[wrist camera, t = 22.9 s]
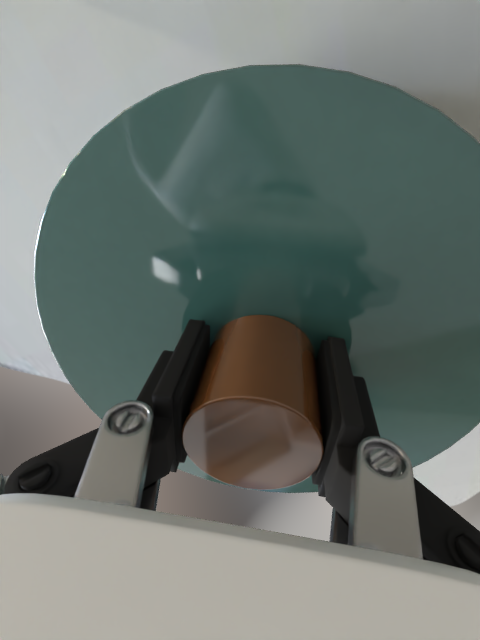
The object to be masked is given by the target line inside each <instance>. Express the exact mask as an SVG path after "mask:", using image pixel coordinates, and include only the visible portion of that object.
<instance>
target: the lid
mask: <svg viewBox="0 0 480 640" xmlns="http://www.w3.org/2000/svg"><path fill="white" fill-rule="evenodd" d="M34 285H35V294H36V304H37V308H38V312H39V316H40V320H41V324H42V328H43V331H44V334H45V336H46V339H47V341H48V344H49V346H50V349H51V352H52V354H53V355H54V357H55V359H56V361H57V363H58V365H59V367H60V368H61V370H62V372H63V374H64V375H65V377H66V378H67V379H68V381H69V382H70V384H71V385H72V387H73V388H74V390H75V391H76V392H77V394H78V395H79V396H80V397H81V398H82V399H83V400H84V402H85V403H86V404H87V405H88V406H89V408H90V409H91V410H92V411H93V412H94V413H95V414H97V416H98V417H99V418H101V419H103V417H104V415H105V413H106V412H107V411H108V410H109V409H110V408H111V407H113V406H115V405H116V404H118V403H121V402H124V401H129V400H136V399H137V398H138V396H139V394H140V392H141V390H142V388H143V386H144V385H145V383H146V381H147V379H148V377H149V375H150V374H151V372H152V370H153V368H154V366H155V364H156V363H157V361H158V359H159V357H160V355H161V353H162V352H163V351H164V350H168V351H174V350H175V348H176V346H177V344H178V342H179V340H180V338H181V336H182V334H183V332H184V330H185V328H186V326H187V324H188V321H189V320H190V319H194V320H202V321H205V325H210V349H209V352H208V355H207V358H206V360H205V363H204V366H203V369H202V372H201V375H200V378H199V380H198V383H197V386H196V389H195V392H194V395H193V397H192V400H191V403H190V406H189V409H188V412H187V415H186V417H185V420H184V423H183V427H182V436H181V438H182V444H183V447H184V450H185V451H186V453H187V457H186V460H185V462H184V463H180V462H179V465H178V468H177V469H179V470H181V471H184V472H187V473H190V474H192V475H195V476H198V477H200V478H203V479H207V480H210V481H214V482H217V483H221V484H225V485H230V486H234V487H239V488H244V489H252V490H259V491H267V492H285V493H302V492H303V493H304V492H318V485H315V484H313V483H312V474H313V473H314V472H315V471H316V470H317V469H318V467H319V466H320V464H321V461H322V459H323V454H324V440H323V429H322V419H321V408H320V398H319V388H318V377H317V367H316V361H317V357H318V353H319V349H320V344H321V341H322V340H327V338H328V337H336V338H343V339H344V340H345V343H346V347H347V352H348V356H349V360H350V365H351V369H352V373H353V376H359V377H363V378H364V380H365V382H366V386H367V390H368V393H369V397H370V401H371V404H372V408H373V412H374V415H375V419H376V423H377V427H378V430H379V434H380V437H383V438H386V439H388V440H391V441H393V442H394V443H396V444H397V445H399V446H400V447H401V448H402V449H403V450H404V451H405V452H406V454H407V455H408V457H409V459H410V461H411V464H412V468H413V467H415V466H417V465H419V464H422V463H424V462H426V461H428V460H429V459H431V458H433V457H434V456H436V455H438V454H439V453H441V452H443V451H444V450H446V449H448V448H449V447H451V446H452V445H453V444H455V443H456V442H457V441H459V440H460V439H461V438H463V437H464V436H465V435H467V434H468V433H469V432H470V431H471V430H473V429H474V428H475V427H476V426H477V425H478V424H479V423H480V143H479V142H478V141H477V140H476V139H475V138H474V137H473V136H472V135H471V134H469V133H468V132H467V131H465V130H464V129H463V128H462V127H460V126H459V125H458V124H456V123H455V122H454V121H453V120H451V119H450V118H449V117H447V116H446V115H445V114H444V113H442V112H441V111H440V110H439V109H437V108H435V107H433V106H431V105H429V104H427V103H425V102H424V101H422V100H420V99H418V98H416V97H414V96H412V95H410V94H408V93H406V92H405V91H403V90H401V89H399V88H397V87H395V86H392V85H389V84H386V83H382V82H379V81H376V80H373V79H370V78H367V77H364V76H361V75H358V74H355V73H352V72H348V71H342V70H335V69H328V68H321V67H314V66H308V65H301V64H288V65H249V66H243V67H238V68H233V69H227V70H222V71H216V72H211V73H206V74H202V75H199V76H196V77H194V78H191V79H188V80H185V81H183V82H180V83H177V84H174V85H172V86H169V87H166V88H163V89H161V90H159V91H157V92H155V93H154V94H152V95H150V96H148V97H147V98H145V99H143V100H141V101H140V102H138V103H136V104H134V105H133V106H131V107H129V108H127V109H126V110H124V111H123V112H121V113H120V114H119V115H118V116H117V117H115V118H114V119H113V120H112V121H110V122H109V123H108V124H107V125H106V126H104V127H103V128H102V129H101V130H100V131H98V132H97V133H96V134H95V135H94V136H93V137H92V138H91V139H90V140H89V141H88V142H87V144H86V145H85V146H84V147H83V148H82V149H81V151H80V152H79V153H78V154H77V155H76V156H75V158H74V159H73V160H72V161H71V162H70V164H69V165H68V167H67V169H66V170H65V172H64V174H63V175H62V177H61V179H60V180H59V182H58V184H57V185H56V187H55V189H54V190H53V192H52V195H51V197H50V200H49V202H48V205H47V207H46V210H45V213H44V215H43V218H42V220H41V224H40V229H39V234H38V239H37V243H36V248H35V263H34Z"/></svg>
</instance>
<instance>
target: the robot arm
mask: <svg viewBox="0 0 480 640" xmlns="http://www.w3.org/2000/svg"><path fill="white" fill-rule="evenodd" d="M209 349H210V325H205V321H202V320H194V319H190V320H189V321H188V324H187V326H186V328H185V330H184V332H183V334H182V336H181V338H180V340H179V342H178V344H177V346H176V348H175V350H174V351H168V350H164V351H163V352H162V353H161V355H160V357H159V359H158V361H157V363H156V364H155V366H154V368H153V370H152V372H151V374H150V375H149V377H148V379H147V381H146V383H145V385H144V386H143V388H142V390H141V392H140V394H139V396H138V398H137V399H136V400H129V401H124V402H121V403H118V404H116V405H115V406H113V407H111V408H110V409H109V410H108V411H107V412H106V413H105V415H104V417H103V419H102V422H101V424H100V427H99V428H97V429H95V430H93V431H91V432H89V433H86V434H84V435H82V436H80V437H77V438H75V439H73V440H71V441H69V442H67V443H64V444H62V445H60V446H58V447H55V448H53V449H51V450H49V451H47V452H44V453H42V454H40V455H38V456H35V457H33V458H31V459H29V460H28V461H26V462H24V463H23V464H21V465H20V466H19V467H18V468H16V469H15V470H14V471H13V473H12V474H11V475H9V476H6V477H3V475H2V474H0V640H480V531H479V530H477V529H476V528H475V527H474V526H472V525H471V524H470V523H469V522H467V521H466V520H465V519H464V518H462V517H461V516H460V515H459V514H458V513H456V512H455V511H454V510H453V509H451V508H450V507H449V506H448V505H447V504H446V503H444V502H443V501H442V500H441V499H439V498H438V497H437V496H436V495H435V494H433V493H432V492H431V491H430V490H428V489H427V488H426V487H425V486H423V485H422V484H421V483H420V482H419V481H417V480H416V479H415V478H414V477H413V469H412V464H411V461H410V459H409V457H408V455H407V454H406V452H405V451H404V450H403V449H402V448H401V447H400V446H399V445H397V444H396V443H394V442H393V441H391V440H388V439H386V438H383V437H380V434H379V430H378V427H377V423H376V419H375V415H374V412H373V408H372V404H371V401H370V397H369V393H368V390H367V386H366V382H365V380H364V378H363V377H359V376H353V373H352V369H351V365H350V360H349V356H348V352H347V347H346V343H345V340H344V339H343V338H336V337H328V338H327V340H322V341H321V344H320V349H319V353H318V357H317V361H316V367H317V377H318V388H319V398H320V408H321V419H322V429H323V440H324V454H323V459H322V461H321V464H320V466H319V467H318V469H317V470H316V471H315V472H314V473H313V474H312V483H313V484H315V485H318V494H319V496H322V497H326V500H327V502H328V503H329V504H330V505H331V506H332V507H333V512H332V521H331V531H330V541H329V542H328V541H322V540H316V539H311V538H306V537H300V536H294V535H289V534H284V533H278V532H272V531H266V530H261V529H256V528H250V527H244V526H239V525H233V524H227V523H221V522H216V521H210V520H204V519H199V518H193V517H187V516H181V515H175V514H169V513H164V512H158V511H156V506H157V500H158V493H159V486H160V479H161V478H162V477H164V476H166V475H167V474H169V472H170V471H171V472H176V471H177V468H178V465H179V462H180V463H184V462H185V460H186V457H187V453H186V451H185V450H184V447H183V444H182V438H181V436H182V427H183V423H184V420H185V417H186V415H187V412H188V409H189V406H190V403H191V400H192V397H193V395H194V392H195V389H196V386H197V383H198V380H199V378H200V375H201V372H202V369H203V366H204V363H205V360H206V358H207V355H208V352H209Z"/></svg>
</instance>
